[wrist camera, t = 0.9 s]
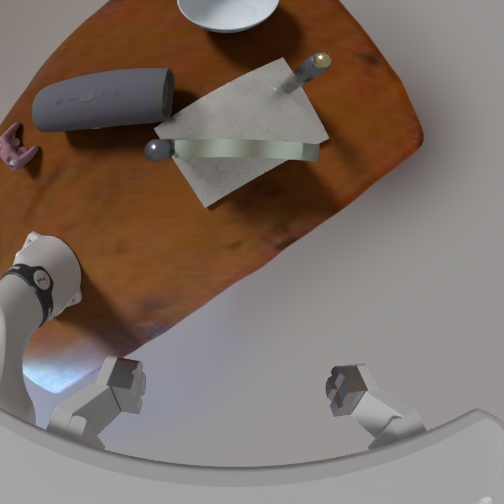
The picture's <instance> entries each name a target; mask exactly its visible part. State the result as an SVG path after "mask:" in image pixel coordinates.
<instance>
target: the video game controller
mask: <svg viewBox="0 0 504 504" xmlns="http://www.w3.org/2000/svg"><path fill="white" fill-rule="evenodd" d="M19 126H20V122H16V123H14V124H13V125H12V126H11V127H10V128H9V129H8V130H7V131H6V132H5V133H4V134H3V135H2V136H1V138H0V156H1V158H2V160H3V161H4V162H5V163H6V164H7V165H9V166H10V167H11V169H12V170H15V171H18V170H20V169H22V168H23V166H24V165H25V164H26V163H27V162H29V161H30V160H31V159H32V158H33V157H34V155H35V154H36V153H37V151H38V149H39V147H38V146H34V147H32V148H31V149H29V150H28V151H27V149H26V148H25V147H20V148H19V149H18V151H17V152H16V150H15V149H17V148H18V147H19V145H20V140H19V139H18V138H13V139H12V136H13V135H14V134H15V132H16V131H17V130H18V128H19Z"/></svg>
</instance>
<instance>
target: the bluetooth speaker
mask: <svg viewBox="0 0 504 504" xmlns="http://www.w3.org/2000/svg"><path fill="white" fill-rule="evenodd" d="M174 86H175V84H174V74H173V71H172V70H171V69H165V68H138V69H124V70H114V71H106V72H100V73H94V74H89V75H84V76H80V77H76V78H72V79H68V80H64V81H61V82H58V83H55V84H52V85H49V86H47V87H45V88H43V89H42V90H41V91H40V92H39V93H38V94H37V95H36V97H35V99H34V102H33V106H32V119H33V122H34V124H35V126H36V127H37V129H38V130H39V131H41V132H60V131H71V130H82V129H100V128H104V127H113V126H123V125H134V124H145V123H156V122H163V121H168V120H169V118H170V115H171V112H172V101H173V93H174Z"/></svg>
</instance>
